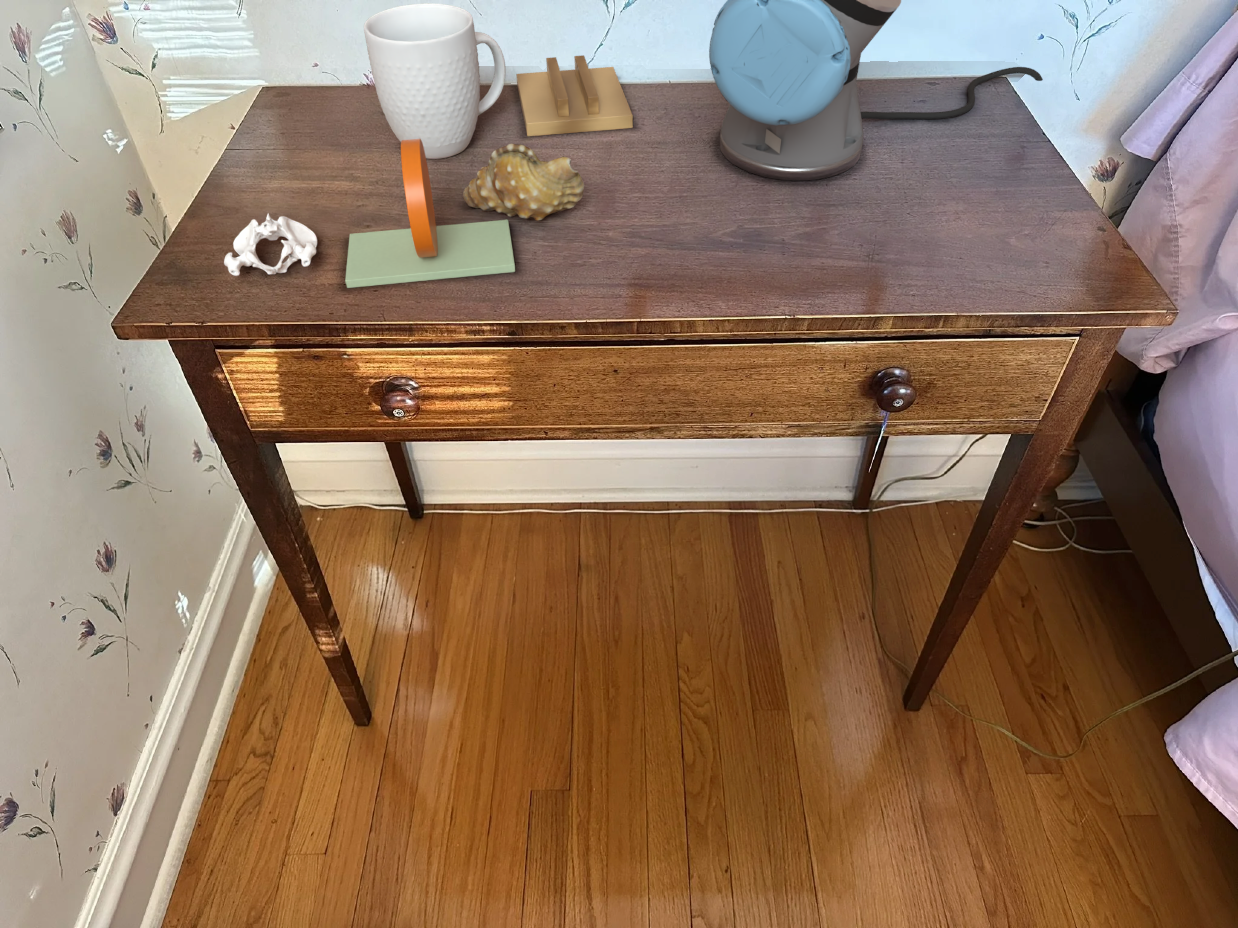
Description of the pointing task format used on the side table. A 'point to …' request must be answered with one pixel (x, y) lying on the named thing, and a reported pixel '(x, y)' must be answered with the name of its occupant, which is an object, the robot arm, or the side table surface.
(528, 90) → the rack
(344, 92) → the side table surface
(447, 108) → the mug
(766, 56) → the robot arm
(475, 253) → the mat
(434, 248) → the disc
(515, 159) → the seashell
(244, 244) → the anatomical pelvis
